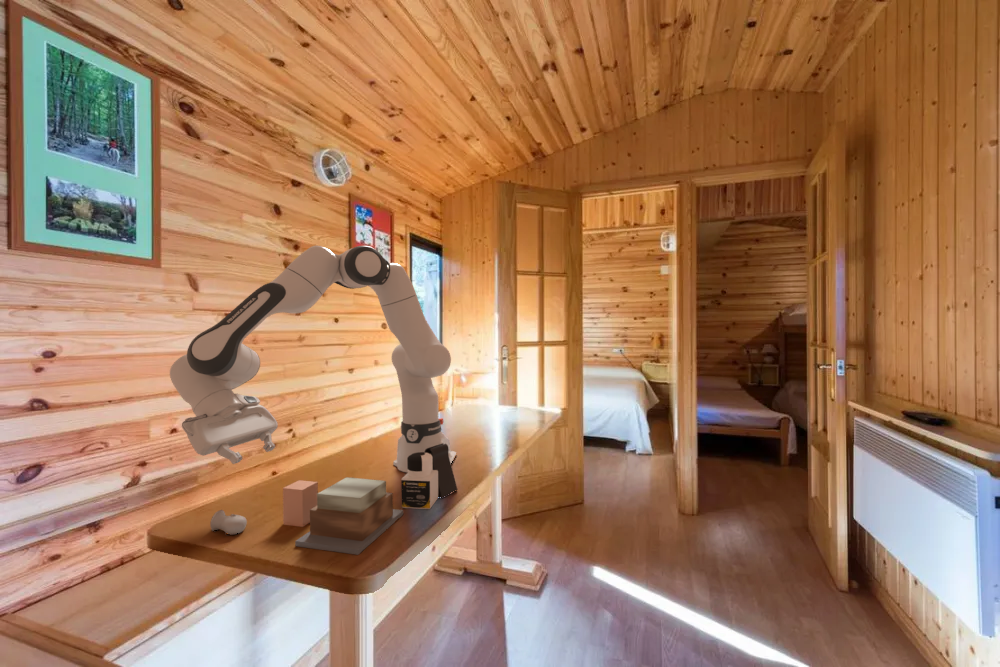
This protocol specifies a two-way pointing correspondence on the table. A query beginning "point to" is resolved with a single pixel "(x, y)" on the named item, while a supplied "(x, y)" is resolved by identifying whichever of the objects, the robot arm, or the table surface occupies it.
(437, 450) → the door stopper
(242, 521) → the smooth white sculpture
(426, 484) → the medicine bottle
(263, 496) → the table surface
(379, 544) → the table surface
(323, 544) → the base plate
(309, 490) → the terracotta brick
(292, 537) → the table surface
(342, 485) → the brick tower
